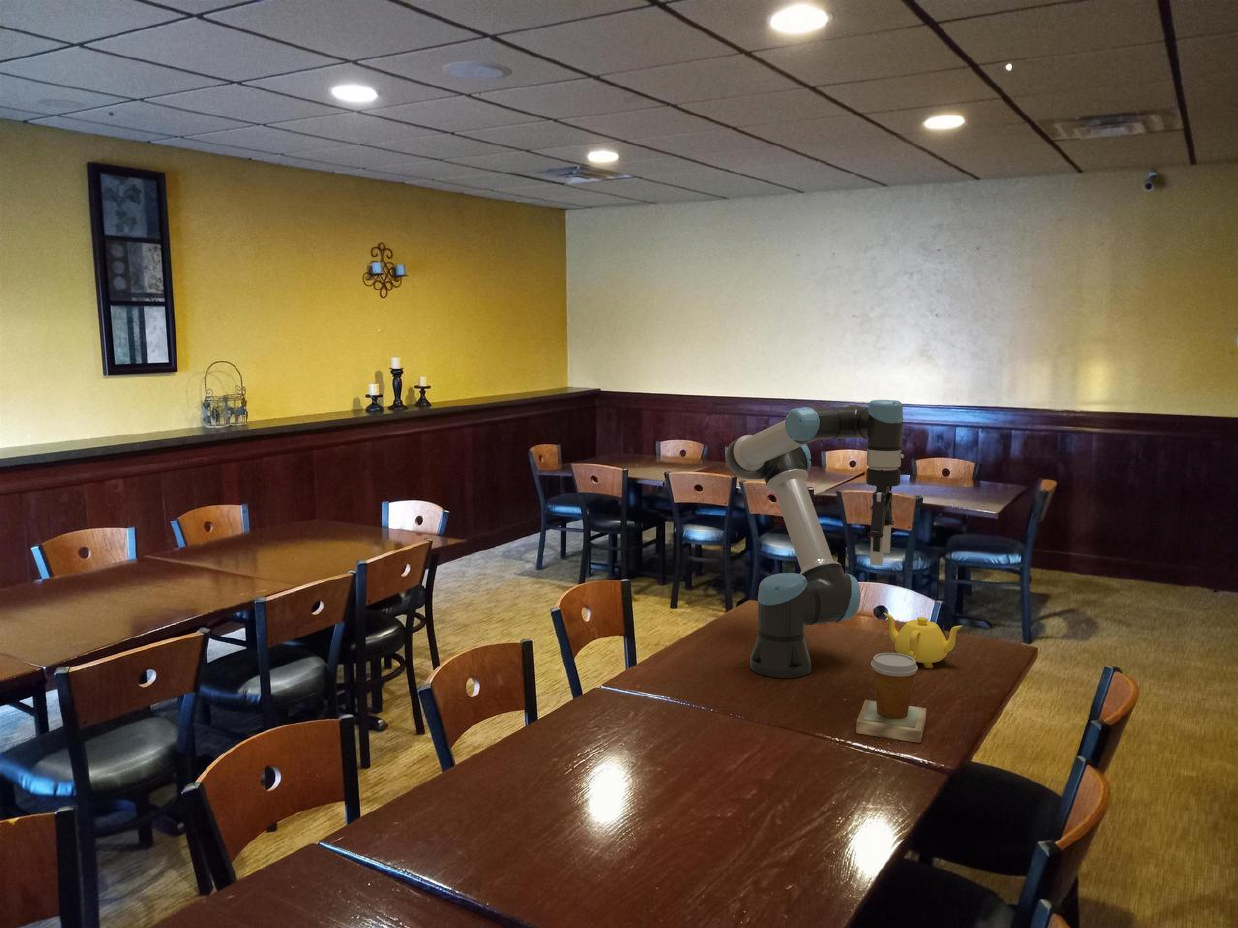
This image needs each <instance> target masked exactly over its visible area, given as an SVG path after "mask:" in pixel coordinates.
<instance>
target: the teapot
mask: <svg viewBox="0 0 1238 928" xmlns="http://www.w3.org/2000/svg"><path fill="white" fill-rule="evenodd" d="M883 615H884V616H885V617H886V618H887V620H888V625H889V627H888V629H889V630H888V633H889V638H890V640H891V641H892V643H893V644H894V649H895V651H896V653H898V654H903V655H907V656H910V657H912V658H913V659H914V660H915V661H916V663H921V664H923V667H924V668H927V669H933V668H934V663H938V662H941V661H942V660H944V658H945V657H946V656H947V655H948V653H950V652H951V651H952V650H953V649H954V648H955V645H956V637H957V631H958V630H959V629H961V628H962V627H963V625H955V626H953V627H951V629H950V631H949V637H948V639H947V638H946V637H945V635H944V633H943V631H942V629H941V628H940V626H939V625H938V624H937V623H936V622H934V621H930V620H929V619H928V618H927V617H924V616H919V617H916V619H913V620H912V619H911V620H907V622H906V623H904V625H902V627H901V629H900V630H899V631H898V630H897V628H896V622H895V618H894V617H893V616H892V615H890V614H889V613H887V612H883Z"/></svg>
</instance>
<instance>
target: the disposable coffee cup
mask: <svg viewBox="0 0 1238 928" xmlns="http://www.w3.org/2000/svg"><path fill="white" fill-rule="evenodd" d="M870 666H871V669H872V672H873V682H874V683H873V685H874V693H875V701H876V706H877V713H878V714H879V715H880V716H882V717H886V718H889V719H902V718H905V717H907V715H908V709H909V706H910V703H911V698H912V692H913V686H914V682H915V681H914V680H915V674H916V673H917V670H918V669H919V668H918V665H917V662H916V661H915V660H914V659H913V658H912V657H910V656H907V655H903V654H898V653H897V652H883V653H882V652H881V653H880V652H879V653H877V654H874V656H873V658H872V661H870Z"/></svg>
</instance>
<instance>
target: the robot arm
mask: <svg viewBox="0 0 1238 928" xmlns="http://www.w3.org/2000/svg"><path fill="white" fill-rule="evenodd" d="M903 406H904V405H903V403H902V402H901V401H899V400H893V399H892V400H891V399H872V400H870V402H869V403H868V406H862V405H858V404H846V405H842V406H825V407H823V406H821V407H819V406H817V407H815V406H814V407H807V406H803V407H798V408H793V409H790V411H788V414H787V415H786V417H785V419H784V420H781V421H780V422H778V423H775V424H774V425H772V426H769V427H768V428H765V429H763V430H762V431H759V432H757V433H755V434H753V435H752V434H747V435H743V436H740V437H738V438H736V439H734V440H733V441H732V442H731V443H730V444H729V446H728V447H727V451H726V456H725V460H726V464H727V466H728V468H729V469H730V471H731V472H732V473H733V474H735V475H736V476H738V477H740V478H741V479H742V478H743V479H745V480H764V483H765V484H766V485H765V486H766V488H767V489H768V490H769V491H771V492H774V493H775V498H776V501H777V503H778V506H779V509H780V512H781V515H782V517H783V518H782V519H783V520H784V523H785V526H786V530H787V533H788V536H789V538H790V541H791V544H792V547H793V550H794V553H795V555H796V559H797V561H798V565H799V567H800V573H796V572H787V573H786V572H783V573H775V574H772V575H768V576H766V577H764V578H763V579H762V580H761V582H760V583H759V587H758V595H757V602H758V604H757V607H758V608H757V611H758V612H757V638H756V641H755V643H754V646H753V648H752V652H751V653H750V654H751V655H750V657H749V658H750V659H749V660H750V661H749V667H750V669H751V670H752V671H753V672H754V673H756V674H759V675H762V676H765V677H770V678H778V679H795V678H800V677H804V676H806V675H808V674H809V673H811V671H812V659H811V657H810V653H809V650H808V649H809V648H808V647H807V646H808V645H807V644H806V643H807V642H806V639H805V636H806V626H815V625H822V624H824V625H825V624H831V623H836V624H837V623H840V622H843V621H844V622H845V621H848V620H851V619H853V618H854V617H855V616H856V614H857V613H858V611H859V609H860V604H861V597H862V595H861V588H860V584H859V582H858V580H857V578H856V577H855V576H854V575H852V574H849V573H845V571H844V569H843V566H842V564H841V563H840V562H838V561H835V560H834V558H833V556H832V553H831V549H830V548H829V545H828V542H827V539H826V536H825V533H824V531H823V527H822V525H821V523H820V520H819V517H818V514H817V511H816V508H815V506H814V503H813V500H812V497H811V495H810V492H809V489H808V487H807V484H806V481H807V479H808V478H809V472H810V470H811V467H812V462H811V459H812V456H811V451H810V449H809V447H808V445H807V444H809V443H812V442H814V441H815V442H816V441H820V440H836V439H837V440H839V439H863V440H867V447H866V466H867V467H868V468H867V469H866V473H865V474H866V475H865V476H866V479H865V483H866V484H867V485H869V486H874V487H876V488H875V491H874V492H872V507H871V508H872V511H871V512H872V513H871V520H870V521H871V522H870V531H869V532H867V537H870V553H869V554H870V555H869V566H877V567H879V566H880V567H882V566H884V564H883V563H884V554H890V553H891V532H892V526H894V525H895V520H893V517H892V516H893V514H892V513H893V510H892V508H893V507H892V506H893V505H892V501H893V492H892V489H893V487H894V488H895V487H899V485H900V484H901V476H902V474H901V473H902V471H901V470H900V469H899V468H900V467H901V465H902V460H901V459H904V458H905V455H904V454H903V453H902V446H903V445H902V444H903V427H904V426H903V425H904V410H903V409H904V407H903Z"/></svg>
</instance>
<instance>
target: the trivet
mask: <svg viewBox="0 0 1238 928" xmlns="http://www.w3.org/2000/svg"><path fill="white" fill-rule="evenodd" d="M859 712H860V713H859V715H858V717H857V720H856V721H855V722H856V723H855V724H856V726H855V727H856V728H855V729H856V730H855V733H856V734H860V735H867V736H874V737H879V738H886V739H890V740H891V739H892V740H899V741H904V742H905V741H906V742H913V743H918V744H921V743H922V738H923V735H924V734H923V733H924V731H925V725H926V721H927V708H925V707H919V706H912V705H909V709H908V715H907V717H905V718H902V719H889V718H886V717H882V716H880V715H879V714H878V713H877V706H876V700H870V699H869V700H868V699H864V701H863V704H862V708H861V710H860V711H859Z"/></svg>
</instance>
